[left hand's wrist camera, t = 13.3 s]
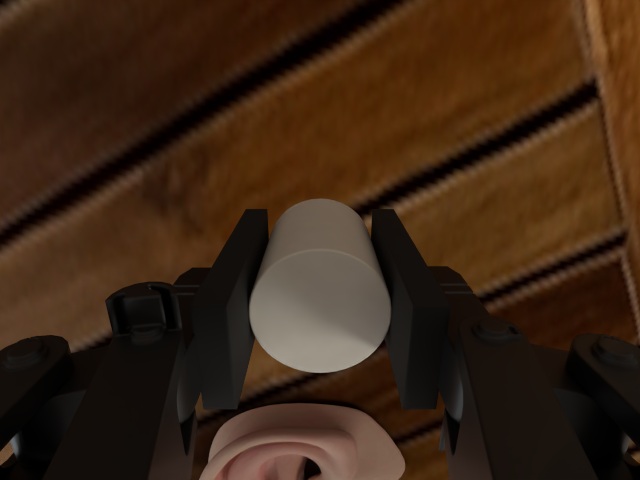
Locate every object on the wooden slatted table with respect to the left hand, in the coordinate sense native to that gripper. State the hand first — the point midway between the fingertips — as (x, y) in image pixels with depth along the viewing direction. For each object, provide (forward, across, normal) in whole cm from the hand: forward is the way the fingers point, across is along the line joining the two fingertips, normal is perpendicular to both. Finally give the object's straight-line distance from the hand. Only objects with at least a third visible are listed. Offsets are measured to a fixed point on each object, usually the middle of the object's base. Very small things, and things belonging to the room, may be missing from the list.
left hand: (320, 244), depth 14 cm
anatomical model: (+7, +1, +19) cm, 21 cm away
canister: (0, 0, 0) cm, 0 cm away
